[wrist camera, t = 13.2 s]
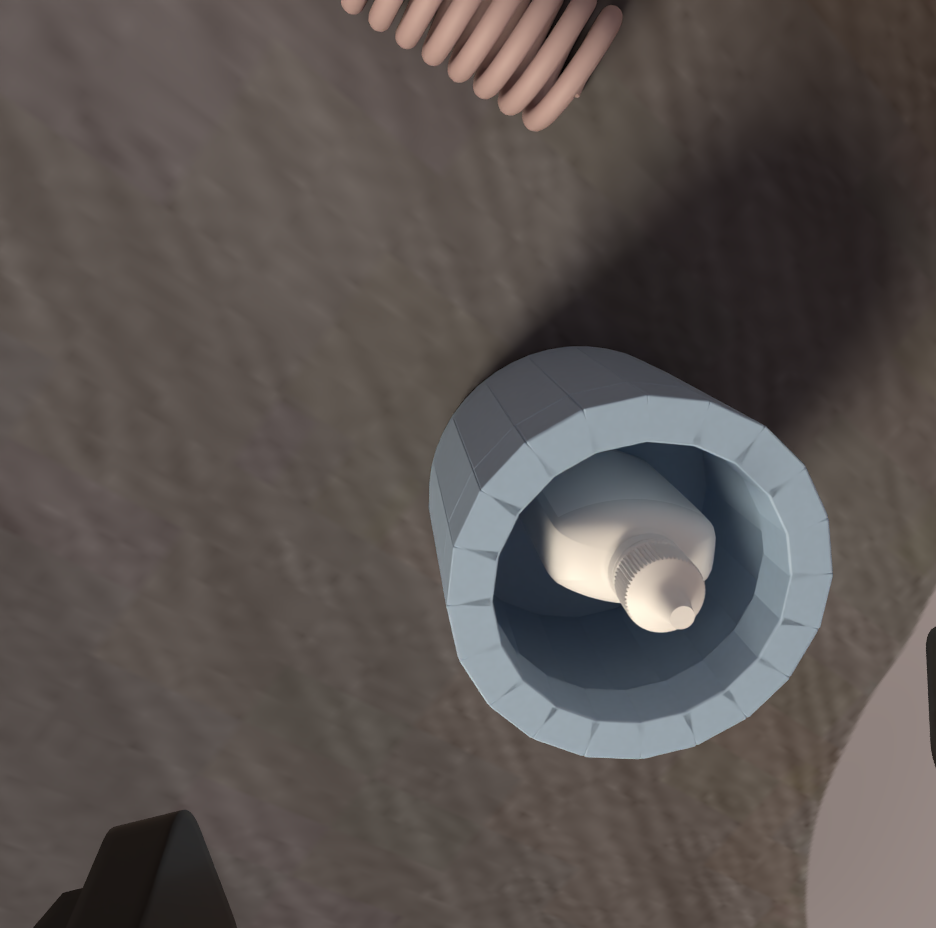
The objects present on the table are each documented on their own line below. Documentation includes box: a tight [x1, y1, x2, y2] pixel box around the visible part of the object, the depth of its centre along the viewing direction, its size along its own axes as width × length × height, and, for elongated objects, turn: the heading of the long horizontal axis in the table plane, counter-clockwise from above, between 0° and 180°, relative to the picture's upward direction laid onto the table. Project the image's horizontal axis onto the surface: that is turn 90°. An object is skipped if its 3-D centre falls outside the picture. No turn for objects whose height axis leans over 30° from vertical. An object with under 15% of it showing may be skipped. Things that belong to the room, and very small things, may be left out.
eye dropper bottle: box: [519, 449, 716, 633], centre depth 29 cm, size 4×6×12 cm
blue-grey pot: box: [429, 346, 833, 759], centre depth 31 cm, size 12×12×10 cm
